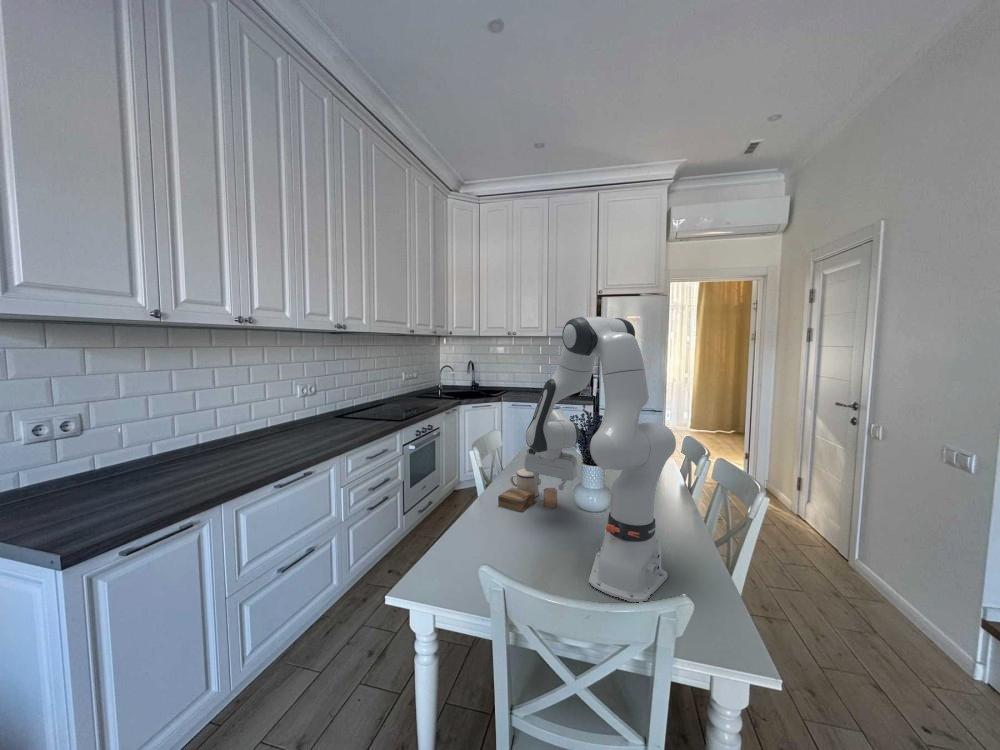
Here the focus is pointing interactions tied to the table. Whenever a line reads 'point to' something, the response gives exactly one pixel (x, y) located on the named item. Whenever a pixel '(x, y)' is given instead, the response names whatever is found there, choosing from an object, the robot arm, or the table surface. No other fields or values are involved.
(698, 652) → the table surface
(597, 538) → the table surface
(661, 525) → the table surface
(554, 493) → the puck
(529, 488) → the teacup with lid
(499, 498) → the base
